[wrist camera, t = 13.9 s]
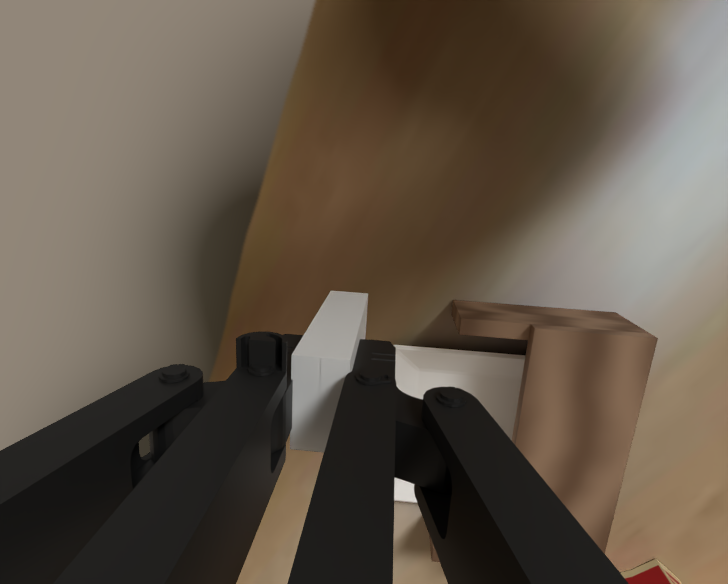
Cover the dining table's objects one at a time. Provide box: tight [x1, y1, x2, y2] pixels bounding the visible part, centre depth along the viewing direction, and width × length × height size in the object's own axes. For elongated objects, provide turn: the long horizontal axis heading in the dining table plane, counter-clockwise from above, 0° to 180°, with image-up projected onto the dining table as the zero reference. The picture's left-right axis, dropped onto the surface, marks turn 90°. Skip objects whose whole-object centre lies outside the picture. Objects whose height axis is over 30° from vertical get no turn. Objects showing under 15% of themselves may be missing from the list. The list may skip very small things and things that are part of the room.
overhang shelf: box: [429, 300, 658, 562], centre depth 43 cm, size 16×26×7 cm, turn 177°
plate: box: [393, 345, 526, 503], centre depth 47 cm, size 19×19×2 cm
